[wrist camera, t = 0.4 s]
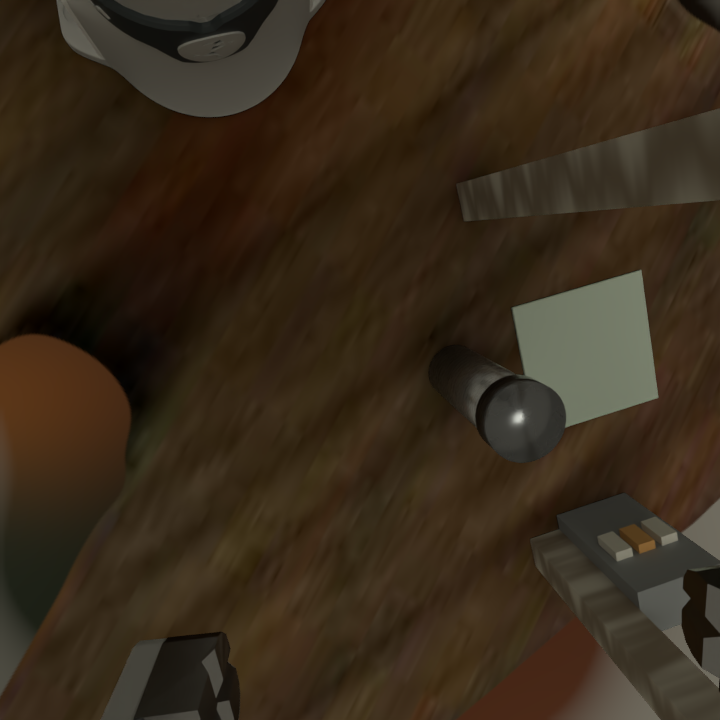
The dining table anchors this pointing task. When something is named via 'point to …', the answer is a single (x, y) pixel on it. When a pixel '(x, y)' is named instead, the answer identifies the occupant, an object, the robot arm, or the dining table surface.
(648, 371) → the sage mat
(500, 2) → the dining table surface
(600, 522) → the breaker box
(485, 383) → the frosted spice bottle
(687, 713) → the arch
